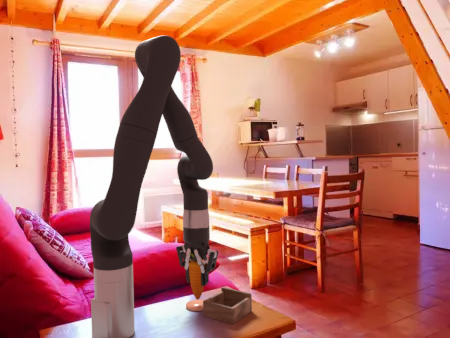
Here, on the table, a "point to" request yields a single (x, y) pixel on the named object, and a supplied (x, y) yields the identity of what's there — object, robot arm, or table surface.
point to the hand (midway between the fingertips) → (197, 283)
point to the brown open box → (228, 305)
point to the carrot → (195, 278)
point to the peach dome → (195, 305)
